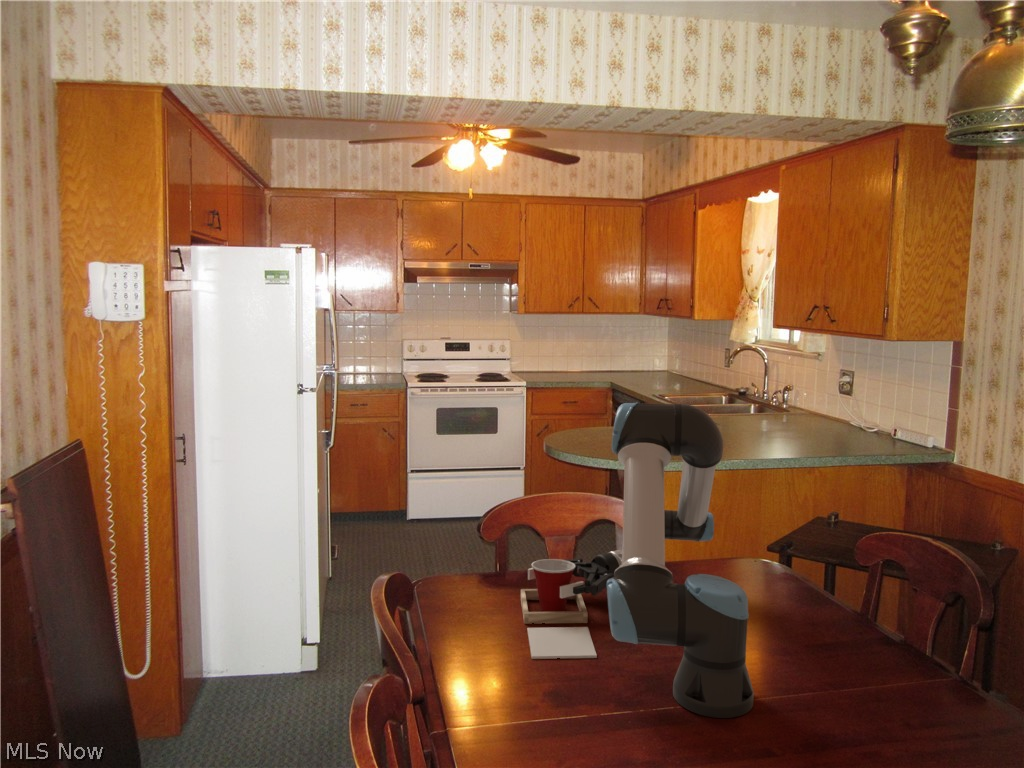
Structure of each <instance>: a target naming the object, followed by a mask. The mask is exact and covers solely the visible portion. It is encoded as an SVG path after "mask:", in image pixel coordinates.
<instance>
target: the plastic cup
mask: <svg viewBox="0 0 1024 768" xmlns="http://www.w3.org/2000/svg"><path fill="white" fill-rule="evenodd" d="M530 566H531V568H533V569H534V573H535V577H536V579H535V583H536V589H537V590H538V597H539V600H538V601H539V607H540V612H555V611H566V606H567V600H568V599H567V597H566V598H560V586H564V585H568V584H571V580H572V577H573V575H572V574H573V570H574V569H575V567H576V566H575V564H574V563H572V562H570V561H565V560H564V559H560V558H559V559H557V558H547V559H538V560H536V561H533V562H532V563H531V565H530Z"/></svg>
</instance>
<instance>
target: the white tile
mask: <svg viewBox="0 0 1024 768" xmlns="http://www.w3.org/2000/svg"><path fill="white" fill-rule="evenodd" d="M526 630H527V636H528V644H529V649H530V657H531V660H543V659H544V660H546V659H548V660H549V659H551V660H552V659H553V660H555V659H557V658H560V659H597V658H598V657H597V656H598V655H597V652H596V648H595V645H594V643H593V640H592V637H591V633H590V629H589V627H588V626H569V627H568V626H562V627H561V626H559V627H557V626H556V627H549V626H547V627H527V629H526Z"/></svg>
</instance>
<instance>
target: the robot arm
mask: <svg viewBox="0 0 1024 768" xmlns="http://www.w3.org/2000/svg"><path fill="white" fill-rule="evenodd" d="M614 417H615V418H614V424H613V430H612V440H611V451H612V453H613V454H616V455H617V460H618V461H619V463H620V464H621V465H622V466H623V467H624V469H623V470H624V471H623V472H624V474H623V509H622V510H623V511H622V512H623V513H622V519H623V520H622V544H621V546H622V547H621V549H617V550H611V551H609V552H603V553H600V554H596V555H595V556H594V557H593V558H592V560H591V561H584V559H583V558H582V557H579V558H571V559H570V558H569V559H564V558H563V560H565V561H570V562H572V563H574V564H575V566H576V567H575V569H574V570H573V574H572V576H573V577H574V576H575V577H576V578H584V579H585V580H584V581H583V580H580V581H576V582H572V583H570V584H568V585H564V586H560V598H566V597H569V596H573V595H577V594H581V595H582V594H584V593H585V594H590V595H591V596H597V595H598V594H600V593H601V592H603V590H604V589H606V595H607V609H608V619H609V626H610V627H609V628H610V633H611V636H612V637H613V639H614V640H616V641H617V642H621V643H622V642H624V643H630V644H634V645H638V644H639V645H641V644H643V645H644V644H645V645H657V646H671V647H681V648H682V647H683V655H682V658H681V661H680V663H679V665H678V668H677V670H676V673H675V676H674V679H673V683H672V684H673V685H672V695H673V698H674V700H675V701H676V702H677V704H678V705H680V706H682V707H683V708H685V709H686V710H688V711H690V712H692V713H694V714H697V715H700V716H704V717H709V718H714V719H733V718H738V717H741V716H744V715H746V714H747V713H749V712H750V711H751V710H752V708H753V707H754V696H755V693H754V688H753V685H752V682H751V678H750V675H749V672H748V667H747V663H746V661H747V660H746V659H747V640H748V639H747V636H748V620H749V618H750V615H749V614H750V613H749V605H748V604H749V603H748V601H749V599H748V595H747V593H746V591H745V589H743V587H741V586H740V585H739V584H738V583H736V582H733V581H732V580H729V579H727V578H724V577H721V576H718V575H714V574H707V573H697V574H691V575H689V576H687V577H686V579H685V581H684V583H676V582H675V583H674V576H673V572H672V571H671V570H669V569H668V568H667V567H666V552H665V551H666V543H665V542H666V540H673V541H676V540H677V541H687V542H688V541H690V542H696V543H697V542H710V541H711V540H713V538H714V535H715V534H714V531H715V519H714V518H715V517H714V515H713V513H712V512H709V510H710V503H711V496H712V490H713V486H714V479H715V472H716V468H717V465H718V464H719V463H720V462H721V460H722V459H723V453H724V440H723V435H722V433H721V430H720V428H719V426H718V425H717V423H716V422H715V420H714V419H713V418H712V417H711V416H710V415H709V414H708V413H706V412H705V411H704V410H703V409H701V408H699V407H697V406H694V405H691V404H688V403H687V404H686V403H678V404H676V403H641V402H638V401H636V402H625V403H622V404H620V405H619V406H618V407H617V410H616V414H615V416H614ZM673 456H675V457H676V456H677V457H679V456H680V457H681V459H682V468H681V469H682V470H681V477H680V478H681V479H680V485H679V494H678V495H679V496H678V503H677V504H678V505H677V510H673V509H672V510H669V509H668V510H667V509H665V468H666V467H667V466H668V465H669V464H670V463H671V460H672V457H673ZM527 580H528V581H532V580H536V577H535V573H534V569H533V568H532V567H531V568H527Z"/></svg>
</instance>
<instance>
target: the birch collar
mask: <svg viewBox="0 0 1024 768" xmlns="http://www.w3.org/2000/svg"><path fill="white" fill-rule="evenodd" d="M582 595H583V594H582V593H581V594H577V595H573V596H569V597H567V600H575V602H576V604H577V608H578V611H577V610H576V611H575V610H574V611H573V610H572V611H570V610H569V611H568V610H567V611H566V610H564V611H555V612H542V611H529V608H528V601H539V597H538V590H537V588H520V605H521V611H522V616H523V618H522V619H523V624H524V625H526V624H527V625H528V624H529V625H531V624H532V623H534V624H539V625H540V624H542V623H545V624H587V623H588V618H589V616H588V610H587V607H586V605H585V602H584V598H583V596H582ZM532 625H533V624H532Z"/></svg>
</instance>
